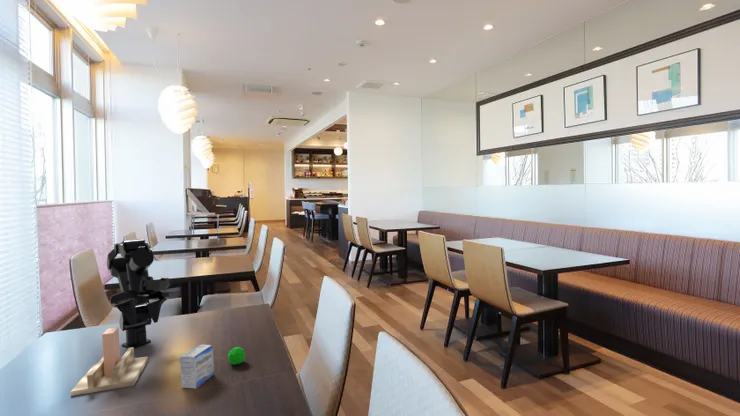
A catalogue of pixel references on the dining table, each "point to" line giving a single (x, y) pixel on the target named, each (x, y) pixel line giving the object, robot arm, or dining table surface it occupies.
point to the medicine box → (196, 366)
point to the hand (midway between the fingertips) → (145, 323)
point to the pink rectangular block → (110, 350)
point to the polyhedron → (236, 356)
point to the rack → (121, 375)
